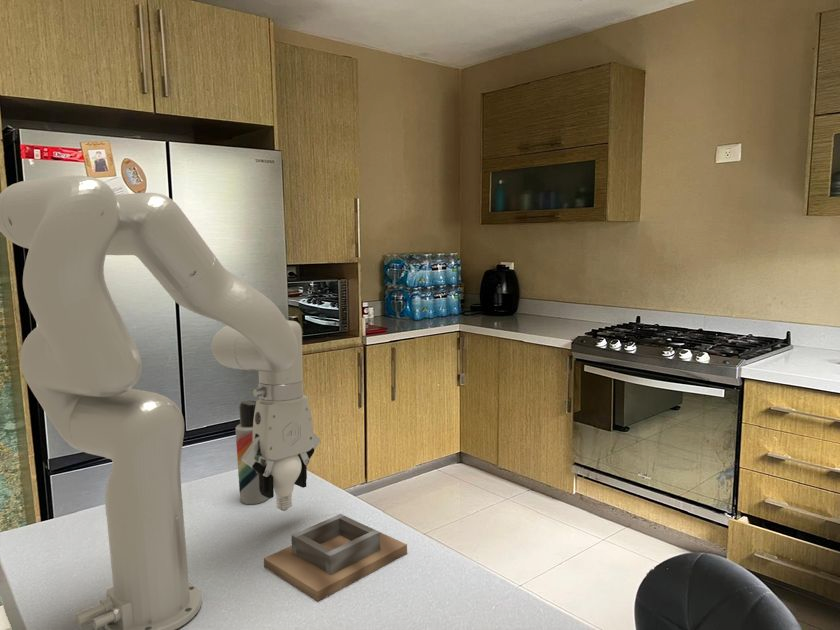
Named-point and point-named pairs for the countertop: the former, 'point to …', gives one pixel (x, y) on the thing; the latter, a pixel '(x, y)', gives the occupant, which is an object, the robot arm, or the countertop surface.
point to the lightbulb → (285, 480)
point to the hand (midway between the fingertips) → (283, 489)
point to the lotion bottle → (243, 442)
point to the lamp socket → (333, 556)
